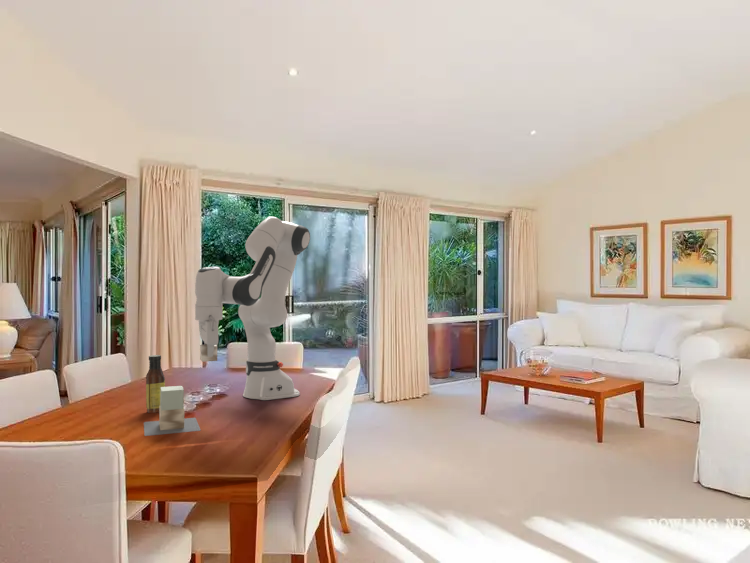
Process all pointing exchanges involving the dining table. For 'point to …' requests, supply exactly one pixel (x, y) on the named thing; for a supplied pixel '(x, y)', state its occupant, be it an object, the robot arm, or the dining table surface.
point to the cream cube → (204, 353)
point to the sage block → (172, 398)
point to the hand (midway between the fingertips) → (209, 355)
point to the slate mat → (154, 429)
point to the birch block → (171, 419)
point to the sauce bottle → (154, 384)
